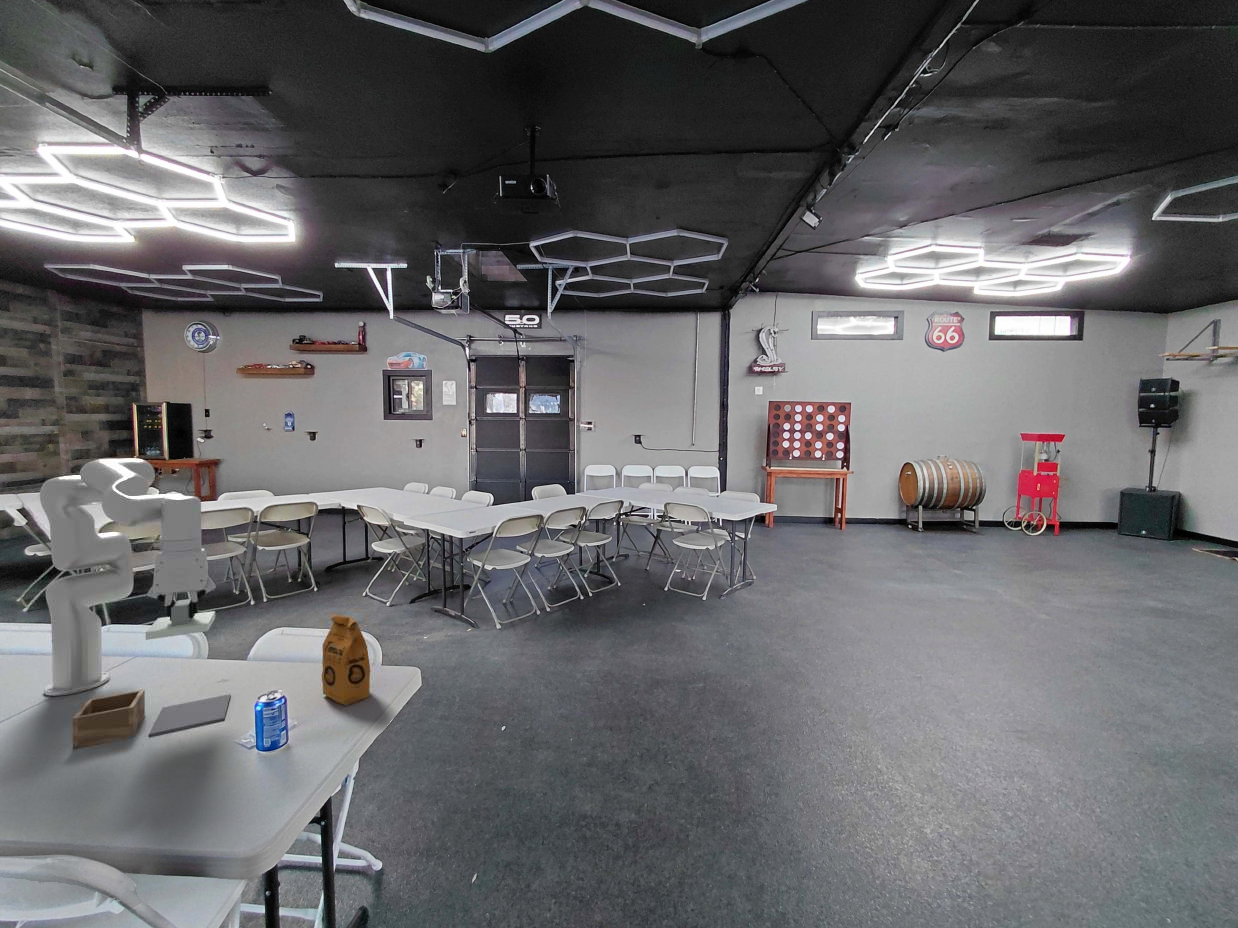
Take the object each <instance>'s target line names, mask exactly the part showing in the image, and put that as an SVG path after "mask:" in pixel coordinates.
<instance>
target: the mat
mask: <svg viewBox="0 0 1238 928" xmlns="http://www.w3.org/2000/svg"><path fill="white" fill-rule="evenodd" d="M230 701H231V694H230V693H229V694H224V695H218V696H214V697H209V698H204V699H199V700H195V701H190V702H185V703H184V702H183V703H180V704H174V705H169V706H164V707H162V708H161V710H160V712H159V714H158V715H157V718H156V719H155V721H154V724H153V725H152V727H151V729H150V731H149V733H148V737H153V736H159V735H163V734H166V733H167V734H168V733H171V732H177V731H181V730H185V729H189V728H194V727H199V726H204V725H208V724H212V723H217V722H222V721H224V720H225V718H226V714H227V712H228V711H227V710H228V707H229V703H230Z"/></svg>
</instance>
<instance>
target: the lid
mask: <svg viewBox="0 0 1238 928" xmlns="http://www.w3.org/2000/svg"><path fill="white" fill-rule="evenodd" d="M190 600H191V598H188V599H187V598H186V599H180V600H177V601H175V602H176V604H175V605H174V606H173V607H172V608H171V621H170V617H167V616H165V617H158V618H157V619H156V620H155V621H154V622H153V624H152V625H150V627H149V628H148V629H147V630H146V631H145V640H146V641H147V640H155V639H163V638H168V637H175V636H183V635H191V634H197V633H204V632H209V630H210V628H211V626H212V624H213V622H214V621H215V619H216V611H214V610H213V611H207V612H198V613H197V614H195V616H194V617H193V618H189V603H190Z"/></svg>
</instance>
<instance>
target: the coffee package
mask: <svg viewBox="0 0 1238 928" xmlns="http://www.w3.org/2000/svg"><path fill="white" fill-rule="evenodd" d="M330 621H331V622H333V623H332V624H331V627H330V629H329V631H328V632H327V635H326V636H325V639H324V642H323V643H322V663H321V664H322V673H321V681H322V695H325V696H326V697H327V698H330V699H332V700H333V701H334V702H336V703H338V704H342V705H343V706H349V705H351V704H355V703H358V702H359V701H362V700H365V699H367V698H369V697H370V695H371V694H370V690H371V689H370V687H371V686H370V685H371V684H370V683H371V682H370V678H371V664H370V658H369V657H370V656H369V650H368V645H367V643H366V639H365V637H364V635H363V633H362V631H361V629H360V627H359V625H358V622H357V621H355V620H354V619H353V618H351V617H348V616H344V615H339V614H334V615H333V616H331V619H330Z"/></svg>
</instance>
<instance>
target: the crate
mask: <svg viewBox="0 0 1238 928" xmlns="http://www.w3.org/2000/svg"><path fill="white" fill-rule="evenodd" d="M145 694H146V693H145V689H140V690H135V691H129V692H122V693H118V694H113V695H112V694H111V695H106V696H100V697H95V698H89V699H88V700H87V701H86V702H85V703H84V705H82V707H81V708H80V709H79V710H78V711H77V712H76V714H75V715H74V717H73V718H72V719H71V720H72V722H71V723H72V750H77V749H82V748H86V747H90V746H95V745H99V744H105V743H109V742H115V741H118V740H123V739H127V738H132V737H133V738H134V736H135V735H136V733H137V731H138V729H140V726H141V724H142V723H143V721H144V719H145V717H146V710H145V709H146V704H145V703H146V701H145V696H146V695H145Z"/></svg>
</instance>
